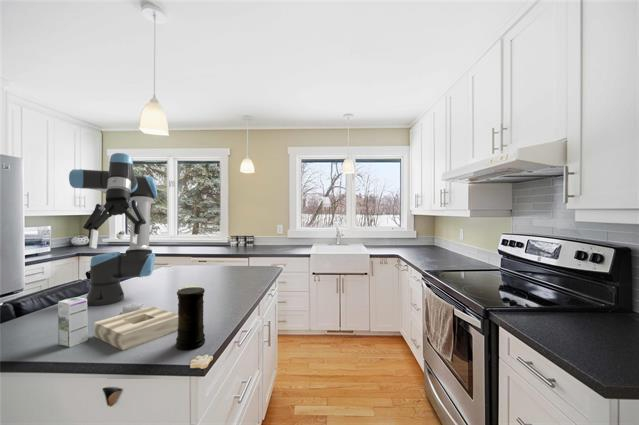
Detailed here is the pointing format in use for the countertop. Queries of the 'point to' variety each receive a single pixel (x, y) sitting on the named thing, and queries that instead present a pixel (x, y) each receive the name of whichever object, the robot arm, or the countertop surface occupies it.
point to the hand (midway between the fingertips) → (113, 245)
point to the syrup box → (72, 321)
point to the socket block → (136, 327)
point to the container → (190, 318)
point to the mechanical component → (132, 308)
